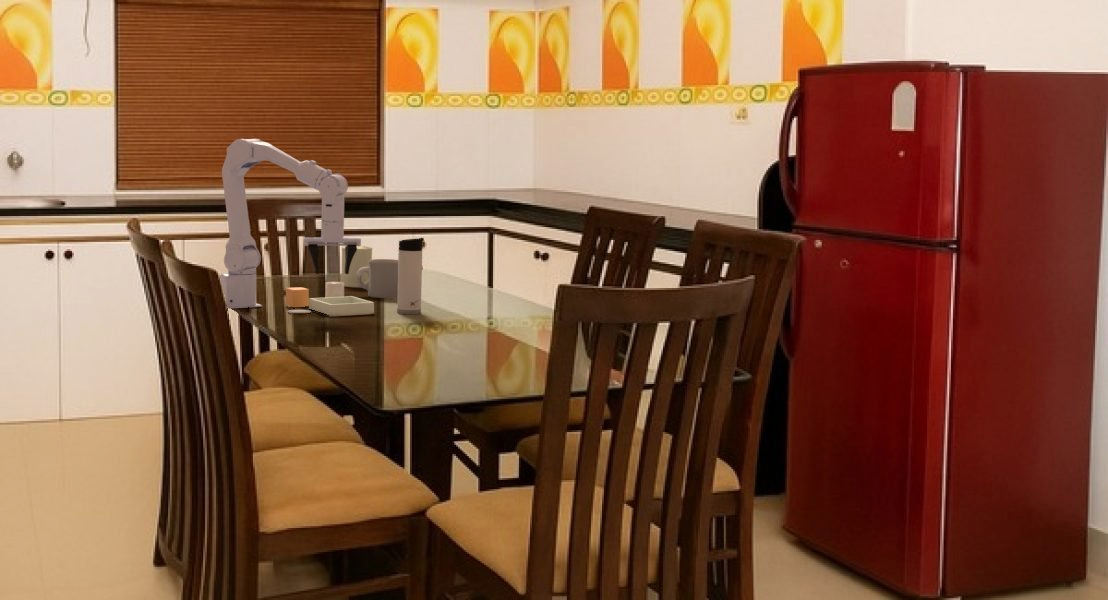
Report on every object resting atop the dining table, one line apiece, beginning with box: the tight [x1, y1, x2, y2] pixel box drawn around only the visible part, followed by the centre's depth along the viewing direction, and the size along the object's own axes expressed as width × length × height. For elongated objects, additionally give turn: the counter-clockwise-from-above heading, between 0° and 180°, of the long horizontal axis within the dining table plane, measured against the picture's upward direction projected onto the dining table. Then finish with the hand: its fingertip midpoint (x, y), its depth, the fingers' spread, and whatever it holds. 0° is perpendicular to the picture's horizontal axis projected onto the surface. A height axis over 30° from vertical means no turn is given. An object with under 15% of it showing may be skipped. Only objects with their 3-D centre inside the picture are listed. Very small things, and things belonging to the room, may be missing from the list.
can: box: [340, 245, 373, 288], centre depth 416 cm, size 9×9×12 cm
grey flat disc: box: [287, 309, 312, 313], centre depth 359 cm, size 6×6×1 cm
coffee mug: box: [356, 258, 398, 299], centre depth 396 cm, size 13×10×10 cm
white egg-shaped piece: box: [324, 281, 345, 298], centre depth 375 cm, size 5×5×6 cm
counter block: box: [285, 286, 310, 307], centre depth 369 cm, size 4×4×5 cm
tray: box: [308, 295, 375, 317], centre depth 363 cm, size 13×13×3 cm
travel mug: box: [396, 237, 425, 315], centre depth 365 cm, size 6×7×20 cm
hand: (331, 273), depth 359 cm, fingers open, 7 cm apart
